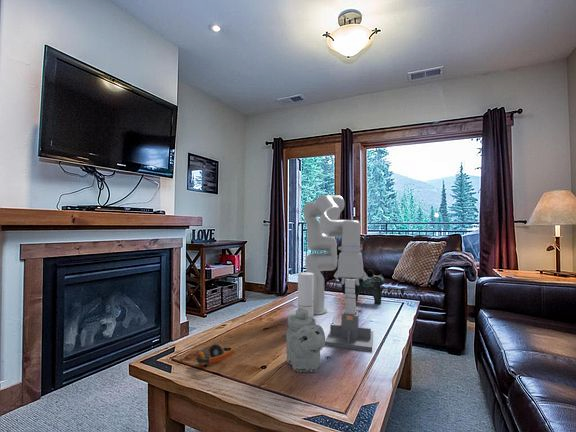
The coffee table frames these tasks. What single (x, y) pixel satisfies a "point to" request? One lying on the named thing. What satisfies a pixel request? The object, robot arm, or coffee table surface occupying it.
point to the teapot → (304, 342)
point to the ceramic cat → (372, 287)
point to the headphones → (213, 354)
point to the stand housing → (350, 334)
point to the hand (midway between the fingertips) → (350, 293)
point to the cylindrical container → (306, 291)
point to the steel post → (350, 297)
